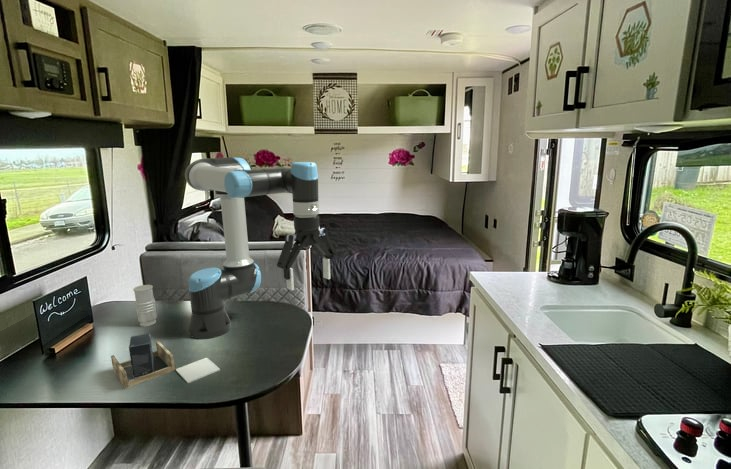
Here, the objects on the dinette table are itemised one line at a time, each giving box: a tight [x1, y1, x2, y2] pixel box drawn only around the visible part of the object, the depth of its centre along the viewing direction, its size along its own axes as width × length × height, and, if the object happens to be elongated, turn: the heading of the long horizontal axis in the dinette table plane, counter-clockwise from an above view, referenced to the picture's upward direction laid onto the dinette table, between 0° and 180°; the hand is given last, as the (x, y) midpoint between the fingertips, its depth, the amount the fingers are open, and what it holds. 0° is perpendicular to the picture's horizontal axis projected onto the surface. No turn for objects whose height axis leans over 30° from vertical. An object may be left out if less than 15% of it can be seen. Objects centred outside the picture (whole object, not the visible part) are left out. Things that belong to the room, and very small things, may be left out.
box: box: [128, 333, 155, 379], centre depth 125 cm, size 8×6×11 cm
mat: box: [175, 357, 221, 384], centre depth 126 cm, size 10×10×1 cm
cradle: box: [110, 340, 176, 390], centre depth 126 cm, size 14×14×5 cm
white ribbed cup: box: [132, 284, 158, 327], centre depth 159 cm, size 7×7×15 cm
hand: (309, 283), depth 122 cm, fingers open, 13 cm apart
